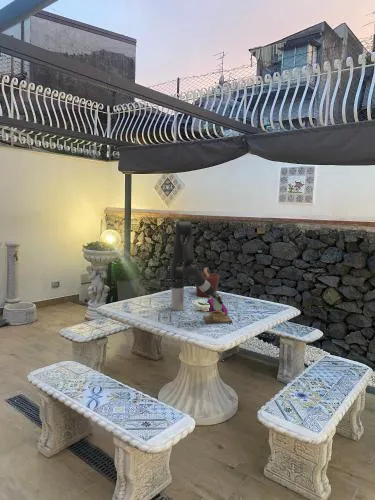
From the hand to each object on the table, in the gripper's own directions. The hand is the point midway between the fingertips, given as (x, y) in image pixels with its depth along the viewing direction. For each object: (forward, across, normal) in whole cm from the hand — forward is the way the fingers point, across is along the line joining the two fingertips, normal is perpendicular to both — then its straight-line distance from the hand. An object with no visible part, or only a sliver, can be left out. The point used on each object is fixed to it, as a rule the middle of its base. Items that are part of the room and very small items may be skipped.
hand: (220, 302), depth 260 cm
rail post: (+2, 0, +5) cm, 5 cm away
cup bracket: (+8, 0, +10) cm, 13 cm away
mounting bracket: (+15, +16, +3) cm, 23 cm away
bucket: (+28, +67, -11) cm, 74 cm away
